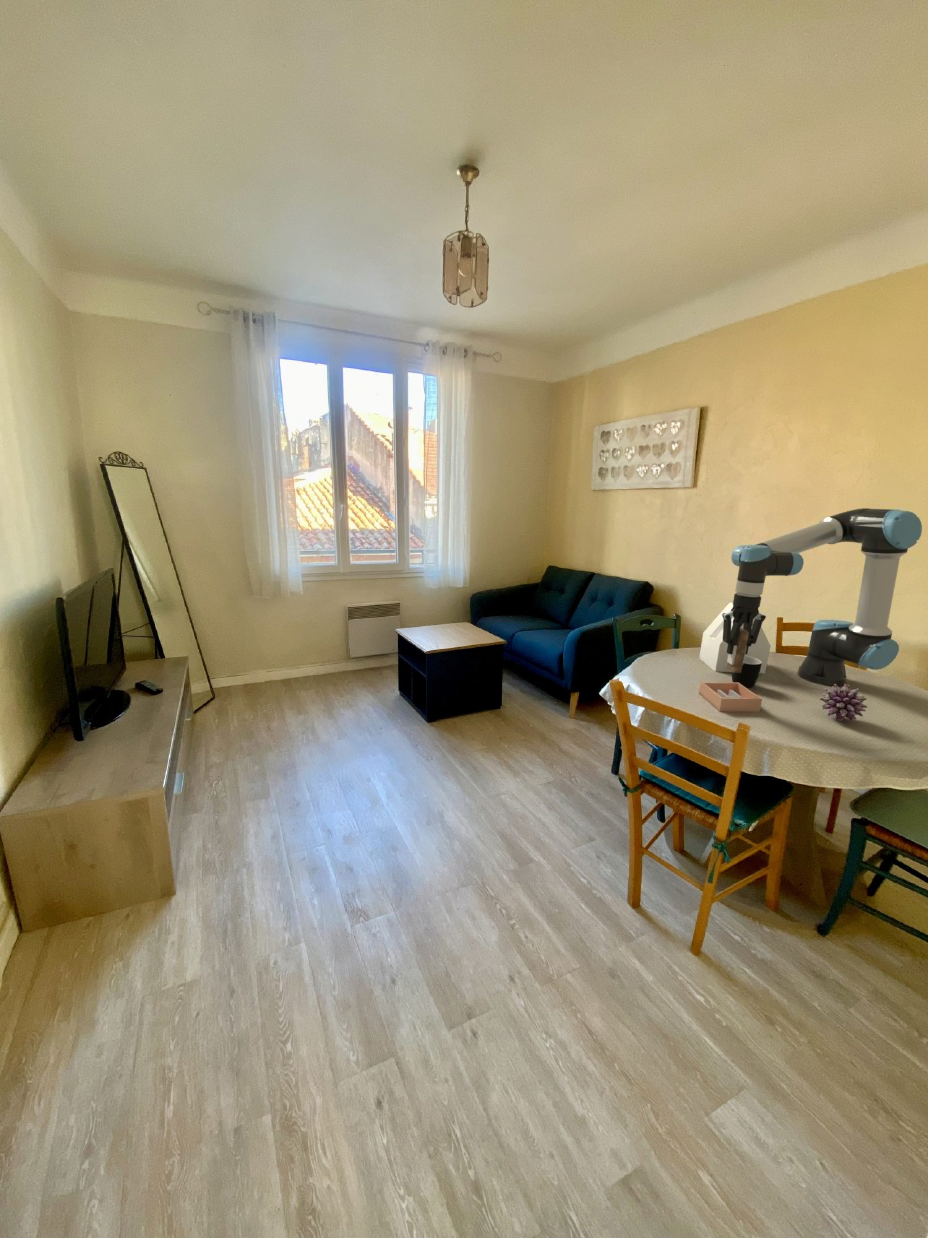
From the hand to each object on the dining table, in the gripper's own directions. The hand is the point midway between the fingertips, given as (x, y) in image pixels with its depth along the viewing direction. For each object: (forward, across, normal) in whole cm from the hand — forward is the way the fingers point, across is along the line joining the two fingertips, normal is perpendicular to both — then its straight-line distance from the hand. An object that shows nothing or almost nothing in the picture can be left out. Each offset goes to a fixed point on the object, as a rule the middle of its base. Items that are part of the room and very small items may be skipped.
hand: (734, 663), depth 158 cm
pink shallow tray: (+14, 0, 0) cm, 14 cm away
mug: (+14, -14, -16) cm, 26 cm away
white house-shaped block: (+15, -21, -35) cm, 43 cm away
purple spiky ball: (+14, -29, +12) cm, 35 cm away
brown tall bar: (+3, 0, 0) cm, 3 cm away
